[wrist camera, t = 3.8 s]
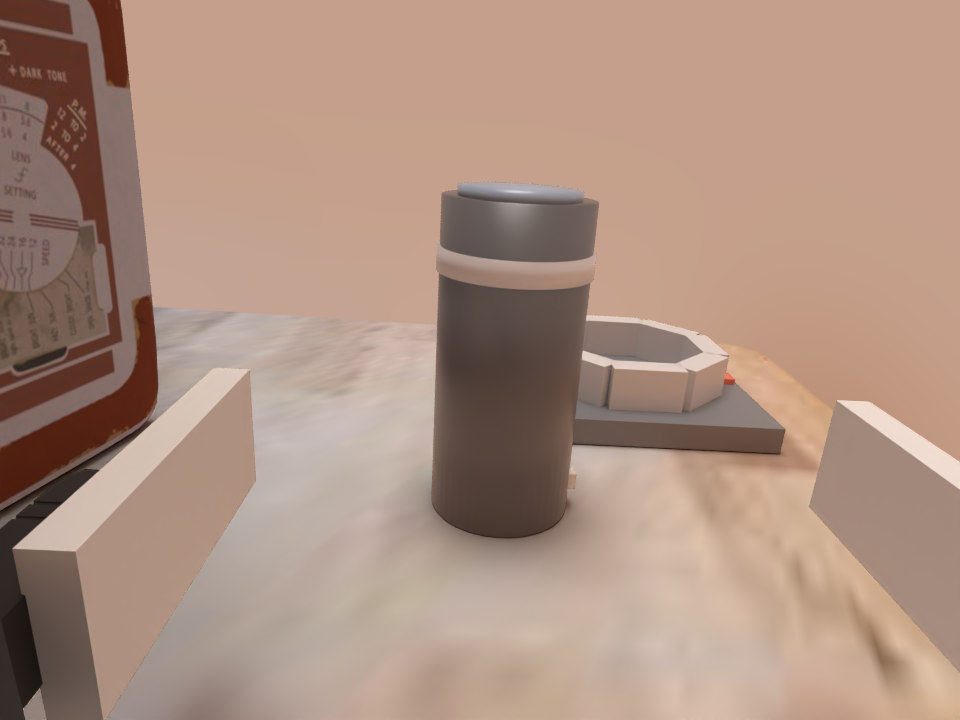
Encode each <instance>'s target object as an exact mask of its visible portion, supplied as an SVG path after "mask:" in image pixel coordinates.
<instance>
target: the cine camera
mask: <svg viewBox="0 0 960 720" xmlns="http://www.w3.org/2000/svg"><path fill="white" fill-rule="evenodd" d="M157 394H158V370H157V349H156V336H155V326H154V315H153V305H152V295H151V285H150V275H149V266H148V256H147V247H146V237H145V228H144V217H143V208H142V198H141V189H140V179H139V170H138V160H137V151H136V141H135V131H134V121H133V112H132V102H131V93H130V84H129V74H128V65H127V55H126V45H125V36H124V26H123V17H122V9H121V1H120V0H0V510H2V509H4V508H5V507H7V506H9V505H10V504H12V503H14V502H16V501H17V500H19V499H21V498H22V497H24V496H26V495H28V494H29V493H31V492H33V491H34V490H36V489H38V488H40V487H41V486H43V485H45V484H46V483H48V482H50V481H52V480H53V479H55V478H57V477H58V476H60V475H62V474H63V473H65V472H67V471H69V470H70V469H72V468H74V467H75V466H77V465H79V464H81V463H82V462H84V461H86V460H87V459H89V458H91V457H93V456H94V455H96V454H98V453H99V452H101V451H103V450H105V449H106V448H108V447H110V446H111V445H113V444H115V443H116V442H118V441H120V440H121V439H123V438H124V437H126V436H127V435H129V434H131V433H132V432H134V431H135V430H137V429H138V428H139V427H140V426H142V425H143V424H144V423H145V422H146V421H147V420H148V418H149V417H150V415H151V414H152V412H153V410H154V408H155V406H156V403H157Z"/></svg>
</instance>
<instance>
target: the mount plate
mask: <svg viewBox="0 0 960 720" xmlns="http://www.w3.org/2000/svg"><path fill="white" fill-rule="evenodd" d="M728 359H729V355H728V354H727V353H726V352H725V351H724V350H722V349H721V348H720V347H719V346H718V345H717V344H715V343H714V342H713V341H712V340H711V339H709V338H708V337H707V336H706V335H700V333H698V332H694V331H690V330H686V329H682V328H678V327H674V326H671V325H666V324H663V323H659V322H655V321H651V320H647V319H645V320H642V321H641V320H640V319H639V318H628V317H610V316H591V315H587V316H586V325H585V334H584V343H583V352H582V361H581V370H580V379H579V388H578V397H577V406H576V416H575V425H574V434H573V443H574V444H594V445H615V446H636V447H656V448H677V449H697V450H718V451H739V452H759V453H780V451H781V447H782V442H783V438H784V434H785V428H783V427H782V426H781V425H780V424H779V423H778V422H777V421H776V420H775V419H774V418H773V417H772V416H771V415H769V414H768V413H767V412H766V411H765V410H764V409H763V408H762V407H761V406H760V405H759V404H758V403H757V402H755V401H754V400H753V399H752V398H751V397H750V396H749V395H748V394H747V393H746V392H745V391H744V390H743V389H742V388H740V387H739V386H738V385H737V384H736V383H735V379H734V378H733V377H732V376H731V375H730V374H729V373H726V369H727V364H728Z"/></svg>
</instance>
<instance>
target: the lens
mask: <svg viewBox="0 0 960 720" xmlns="http://www.w3.org/2000/svg"><path fill="white" fill-rule="evenodd" d="M598 208H599V202H598V201H595V200H591V199H587V198H584V191H582V190H578V189H573V188H566V187H558V186H548V185H538V184H522V183H503V182H466V183H459V184H458V190H452V191H446V192H443V193H442V200H441V230H440V241H439V242H438V243H437V261H436V270H437V271H438V272H439V290H438V321H437V349H436V379H435V409H434V439H433V470H432V503H433V506H434V508H435V510H436V511H437V513H438V514H439V515H440V516H441V517H442V518H443V519H444V520H446V521H447V522H449V523H450V524H452V525H454V526H456V527H458V528H460V529H462V530H465V531H468V532H471V533H474V534H478V535H483V536H489V537H500V538H512V537H523V536H528V535H533V534H536V533H539V532H542V531H545V530H547V529H548V528H550V527H552V526H553V525H555V524H556V523H557V522H558V521H559V520H560V519H561V518H562V516H563V514H564V512H565V506H566V497H567V489H575V481H576V472H575V469H574V467H572V466H570V461H571V452H572V443H573V434H574V425H575V416H576V406H577V397H578V388H579V379H580V370H581V361H582V352H583V343H584V334H585V325H586V316H587V307H588V298H589V289H590V283H591V282H592V281H593V280H594V273H595V264H596V255H597V253H596V252H595V251H594V244H595V235H596V226H597V217H598Z"/></svg>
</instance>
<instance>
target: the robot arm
mask: <svg viewBox="0 0 960 720" xmlns="http://www.w3.org/2000/svg"><path fill="white" fill-rule="evenodd" d="M255 481H256V473H255V456H254V439H253V421H252V404H251V387H250V370H249V369H230V368H213V369H212V370H211V371H210V372H209V373H208V374H207V375H206V376H204V377H203V378H202V379H201V380H200V381H199V382H198V383H197V384H196V385H194V386H193V387H192V388H191V389H190V390H189V391H188V392H187V393H185V394H184V395H183V396H182V397H181V398H180V399H179V400H178V401H177V402H175V403H174V404H173V405H172V406H171V407H170V408H169V409H168V410H166V411H165V412H164V413H163V414H162V415H161V416H160V417H159V418H158V419H156V420H155V421H154V422H153V423H152V424H151V425H150V426H149V427H148V428H146V429H145V430H144V431H143V432H142V433H141V434H140V435H139V436H137V437H136V438H135V439H134V440H133V441H132V442H131V443H130V444H129V445H127V446H126V447H125V448H124V449H123V450H122V451H121V452H120V453H118V454H117V455H116V456H115V457H114V458H113V459H112V460H111V461H110V462H108V463H107V464H106V465H105V466H104V467H103V468H102V469H101V470H92V469H84V470H82V471H80V472H78V473H76V474H74V475H72V476H70V477H67V478H65V479H63V480H61V481H59V482H57V483H55V484H54V485H53V486H51V487H50V488H49V489H48V490H46V491H45V492H44V493H43V494H42V495H40V496H39V497H38V498H37V499H36V500H34V504H33V505H31V504H30V505H28V506H27V507H26V508H25V509H24V510H22V511H21V512H20V513H19V514H18V515H16V519H12V520H10V521H9V522H8V523H7V524H6V525H4V526H3V527H2V528H1V529H0V720H25V717H24V713H23V708H24V707H25V706H26V704H27V703H28V702H29V701H30V699H31V698H32V697H33V695H34V694H35V693H36V692H37V690H38V689H39V688H40V689H41V694H42V699H43V704H44V709H45V713H46V718H47V720H106V718H107V717H108V715H109V713H110V712H111V710H112V709H113V707H114V705H115V704H116V702H117V701H118V699H119V698H120V696H121V694H122V693H123V691H124V690H125V688H126V686H127V685H128V683H129V682H130V680H131V678H132V677H133V675H134V674H135V672H136V671H137V669H138V667H139V666H140V664H141V663H142V661H143V659H144V658H145V656H146V655H147V653H148V651H149V650H150V648H151V647H152V645H153V643H154V642H155V640H156V639H157V637H158V636H159V634H160V632H161V631H162V629H163V628H164V626H165V624H166V623H167V621H168V620H169V618H170V616H171V615H172V613H173V612H174V610H175V609H176V607H177V605H178V604H179V602H180V601H181V599H182V597H183V596H184V594H185V593H186V591H187V589H188V588H189V586H190V585H191V583H192V581H193V580H194V578H195V577H196V575H197V574H198V572H199V570H200V569H201V567H202V566H203V564H204V562H205V561H206V559H207V558H208V556H209V554H210V553H211V551H212V550H213V548H214V546H215V545H216V543H217V542H218V540H219V539H220V537H221V535H222V534H223V532H224V531H225V529H226V527H227V526H228V524H229V523H230V521H231V519H232V518H233V516H234V515H235V513H236V512H237V510H238V508H239V507H240V505H241V504H242V502H243V500H244V499H245V497H246V496H247V494H248V492H249V491H250V489H251V488H252V486H253V484H254V483H255ZM809 507H810V508H811V509H812V510H813V512H814V513H815V514H816V515H817V516H818V517H819V518H820V519H821V520H822V521H823V523H824V524H825V525H826V526H827V527H828V528H829V529H830V530H831V531H832V532H833V534H834V535H835V536H836V537H837V538H838V539H839V540H840V541H841V542H842V543H843V545H844V546H845V547H846V548H847V549H848V550H849V551H850V552H851V553H852V554H853V556H854V557H855V558H856V559H857V560H858V561H859V562H860V563H861V564H862V565H863V566H864V568H865V569H866V570H867V571H868V572H869V573H870V574H871V575H872V576H873V577H874V579H875V580H876V581H877V582H878V583H879V584H880V585H881V586H882V587H883V588H884V590H885V591H886V592H887V593H888V594H889V595H890V596H891V597H892V598H893V599H894V601H895V602H896V603H897V604H898V605H899V606H900V607H901V608H902V609H903V610H904V612H905V613H906V614H907V615H908V616H909V617H910V618H911V619H912V620H913V621H914V623H915V624H916V625H917V626H918V627H919V628H920V629H921V630H922V631H923V632H924V634H925V635H926V636H927V637H928V638H929V639H930V640H931V641H932V642H933V643H934V645H935V646H936V647H937V648H938V649H939V650H940V651H941V652H942V653H943V654H944V656H945V657H946V658H947V659H948V660H949V661H950V662H951V663H952V664H953V665H954V667H955V668H956V669H957V670H958V671H959V672H960V462H959V461H957V460H956V459H954V458H953V457H951V456H950V455H948V454H947V453H945V452H944V451H942V450H941V449H939V448H938V447H936V446H935V445H933V444H932V443H930V442H929V441H927V440H925V439H924V438H923V437H921V436H920V435H918V434H917V433H915V432H914V431H912V430H911V429H909V428H908V427H906V426H905V425H903V424H902V423H900V422H899V421H897V420H896V419H894V418H893V417H891V416H890V415H888V414H887V413H885V412H884V411H882V410H881V409H879V408H878V407H876V406H875V405H873V404H872V403H871V402H862V401H842V400H836V404H835V407H834V411H833V415H832V419H831V423H830V427H829V431H828V435H827V439H826V443H825V447H824V451H823V454H822V458H821V462H820V466H819V470H818V474H817V478H816V482H815V486H814V490H813V494H812V497H811V501H810V505H809Z"/></svg>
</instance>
